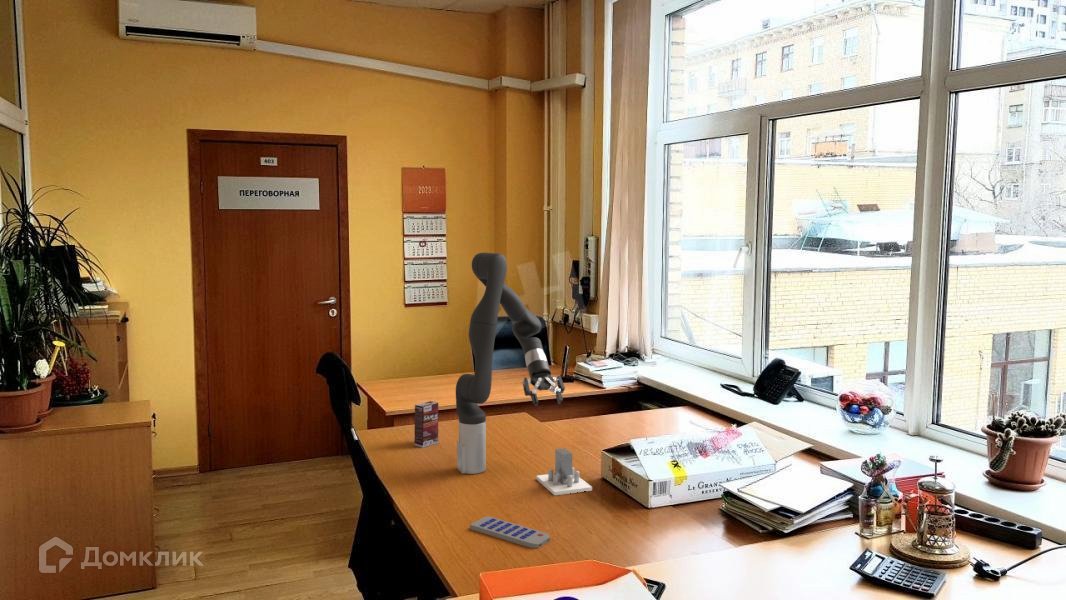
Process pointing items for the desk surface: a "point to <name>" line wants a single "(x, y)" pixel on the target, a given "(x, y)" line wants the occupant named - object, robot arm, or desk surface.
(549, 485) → the tray
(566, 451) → the drive
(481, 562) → the desk surface
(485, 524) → the remote control
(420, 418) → the supplement box
